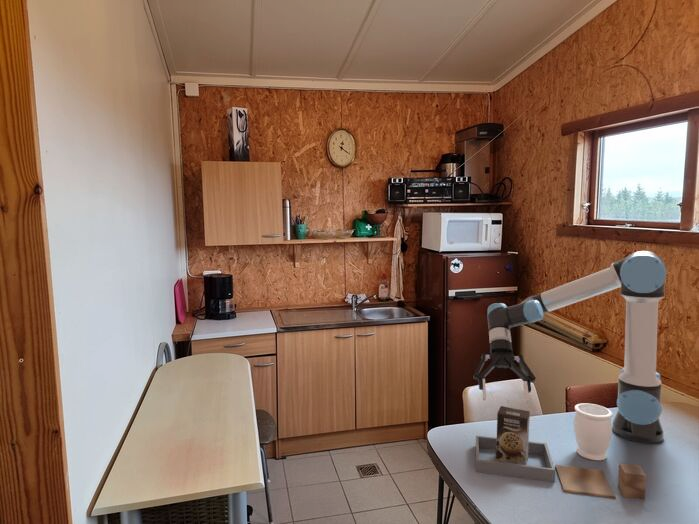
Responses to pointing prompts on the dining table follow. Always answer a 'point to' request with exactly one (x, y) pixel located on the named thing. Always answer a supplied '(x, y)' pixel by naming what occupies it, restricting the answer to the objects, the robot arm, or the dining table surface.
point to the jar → (592, 430)
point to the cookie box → (512, 436)
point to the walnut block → (632, 481)
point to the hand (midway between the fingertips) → (505, 400)
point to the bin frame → (515, 469)
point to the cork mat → (584, 481)
